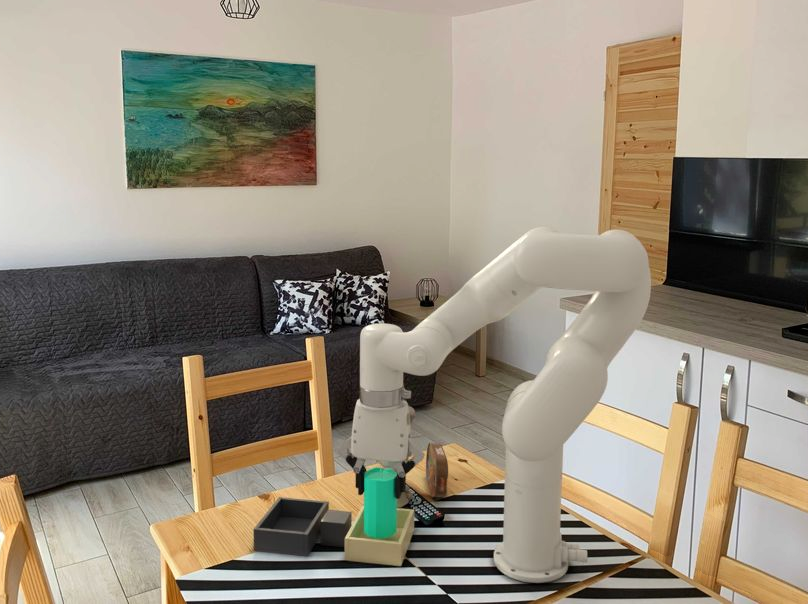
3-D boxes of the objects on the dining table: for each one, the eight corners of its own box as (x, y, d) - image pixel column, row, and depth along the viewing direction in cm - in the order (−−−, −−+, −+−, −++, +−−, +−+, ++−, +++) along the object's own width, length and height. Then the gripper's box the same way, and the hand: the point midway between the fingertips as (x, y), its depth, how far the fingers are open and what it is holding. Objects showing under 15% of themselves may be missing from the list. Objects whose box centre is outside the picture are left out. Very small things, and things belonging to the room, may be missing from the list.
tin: (424, 473, 157) (425, 436, 156) (439, 472, 157) (439, 436, 156) (433, 505, 142) (434, 465, 141) (449, 504, 142) (450, 464, 141)
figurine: (420, 506, 142) (421, 409, 139) (380, 513, 138) (380, 414, 136) (403, 487, 150) (404, 395, 147) (365, 494, 147) (365, 400, 144)
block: (351, 534, 130) (351, 511, 130) (344, 547, 126) (344, 523, 126) (328, 532, 131) (327, 509, 131) (320, 545, 127) (320, 521, 126)
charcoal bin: (328, 521, 135) (328, 501, 135) (307, 556, 123) (307, 534, 123) (279, 516, 137) (279, 496, 136) (253, 550, 125) (253, 529, 124)
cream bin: (414, 529, 132) (414, 509, 132) (401, 566, 120) (401, 544, 120) (362, 524, 134) (362, 504, 134) (344, 560, 122) (344, 538, 122)
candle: (392, 540, 123) (393, 474, 122) (359, 536, 125) (359, 470, 123) (400, 523, 129) (401, 460, 128) (368, 519, 130) (368, 457, 129)
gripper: (433, 392, 126) (431, 488, 128) (339, 385, 129) (339, 480, 131) (426, 406, 119) (425, 508, 121) (327, 398, 122) (327, 498, 124)
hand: (380, 492), depth 126 cm, fingers closed on candle, 6 cm apart
